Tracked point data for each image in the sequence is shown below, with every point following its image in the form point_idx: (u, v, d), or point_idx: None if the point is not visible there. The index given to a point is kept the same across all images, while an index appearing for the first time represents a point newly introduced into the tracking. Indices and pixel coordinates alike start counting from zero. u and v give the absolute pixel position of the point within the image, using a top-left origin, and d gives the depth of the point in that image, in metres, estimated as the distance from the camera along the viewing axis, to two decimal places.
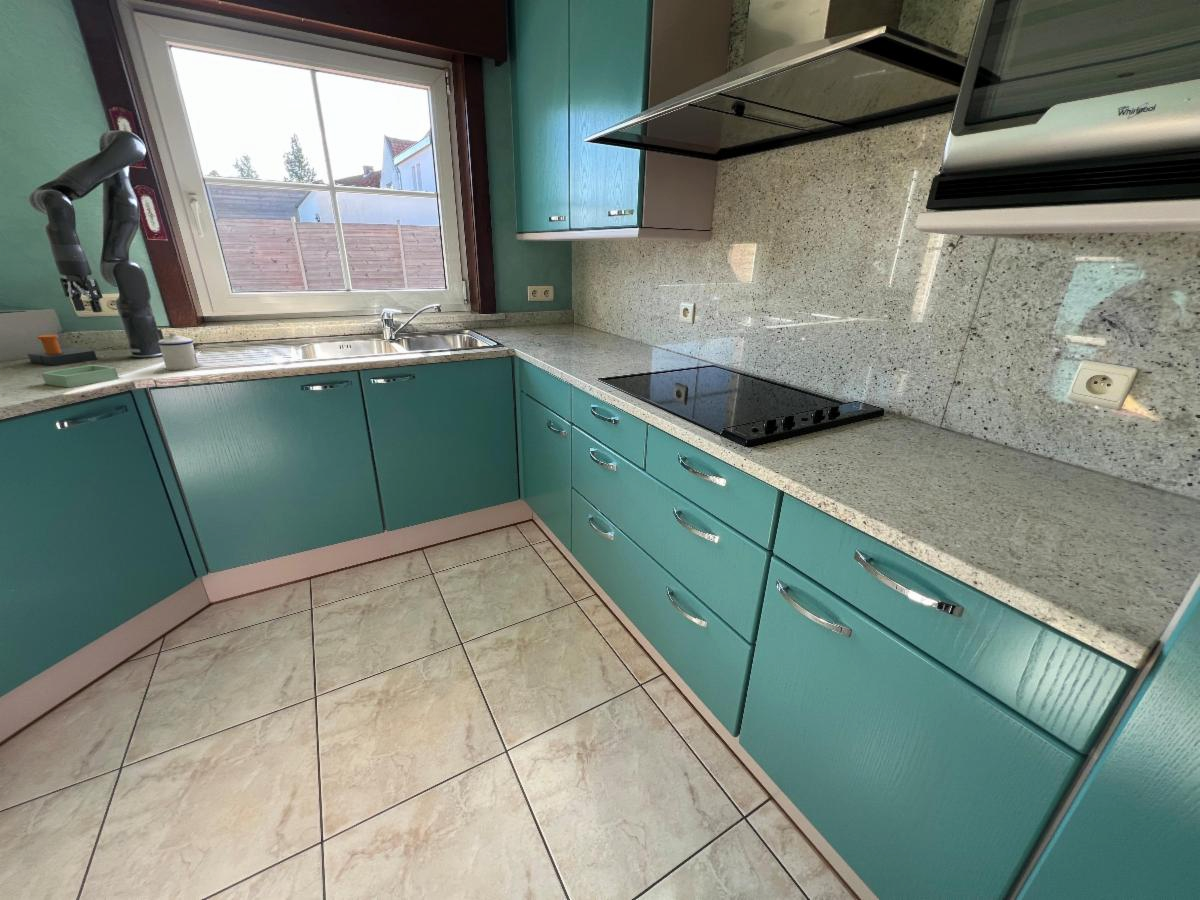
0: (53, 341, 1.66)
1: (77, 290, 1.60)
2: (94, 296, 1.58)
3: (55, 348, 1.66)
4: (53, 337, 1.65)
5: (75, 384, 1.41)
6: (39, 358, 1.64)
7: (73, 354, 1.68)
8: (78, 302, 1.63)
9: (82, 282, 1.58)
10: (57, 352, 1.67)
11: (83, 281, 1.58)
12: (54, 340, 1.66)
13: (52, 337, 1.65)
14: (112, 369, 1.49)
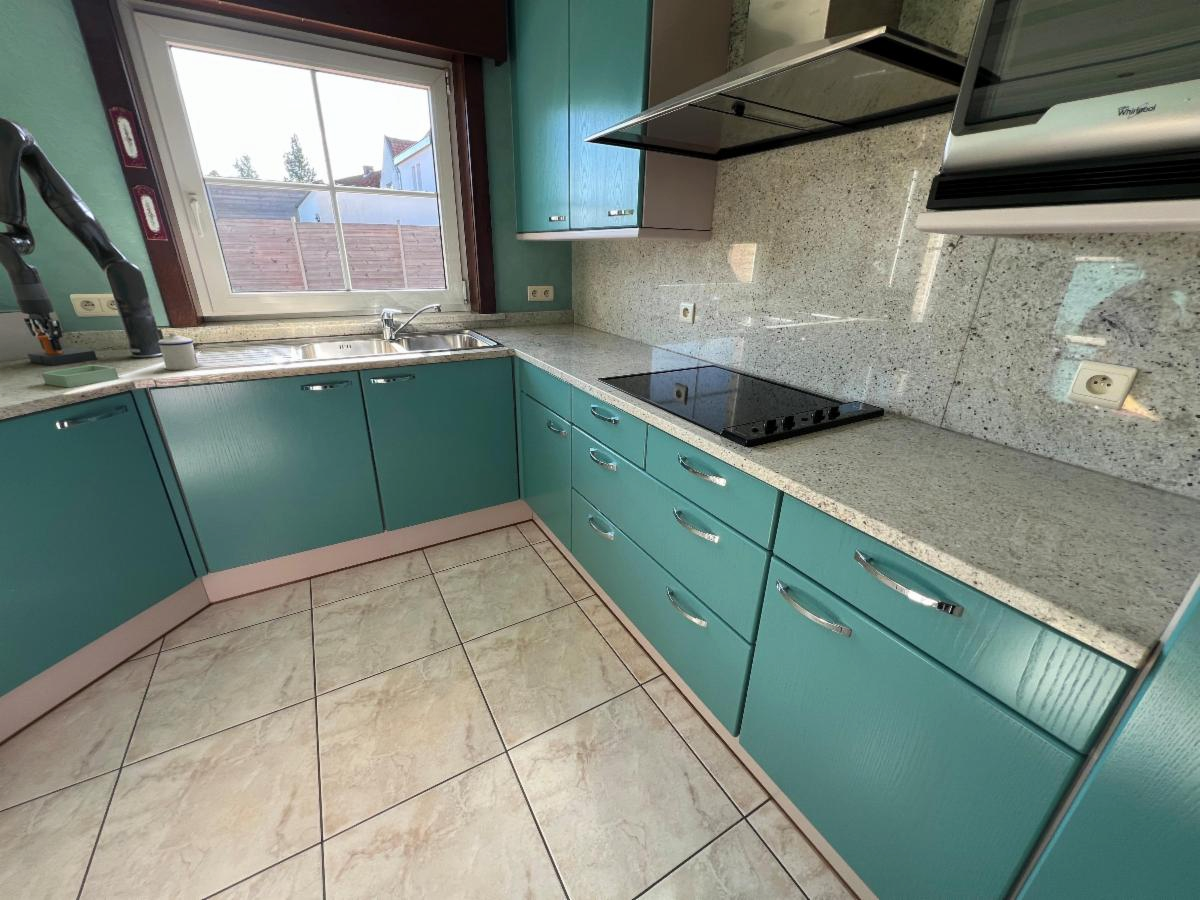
0: None
1: (39, 327, 1.63)
2: (53, 336, 1.63)
3: None
4: None
5: (75, 384, 1.41)
6: (39, 358, 1.64)
7: (73, 354, 1.68)
8: None
9: (43, 320, 1.61)
10: (57, 352, 1.67)
11: (45, 320, 1.61)
12: None
13: None
14: (112, 369, 1.49)
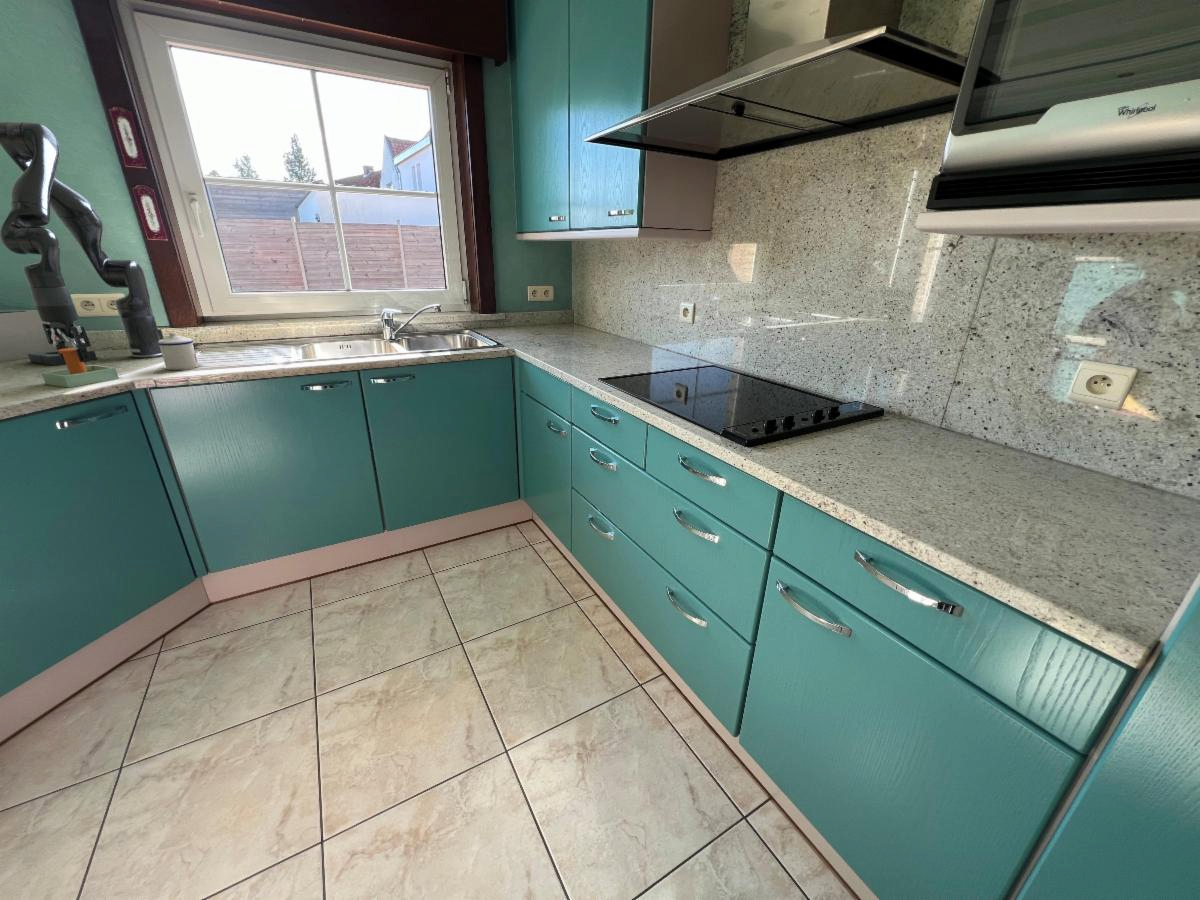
0: (76, 355, 1.43)
1: (62, 337, 1.41)
2: (81, 345, 1.40)
3: (79, 363, 1.44)
4: None
5: (75, 384, 1.41)
6: (39, 358, 1.64)
7: None
8: None
9: (67, 329, 1.39)
10: (81, 368, 1.44)
11: (68, 328, 1.39)
12: None
13: (75, 351, 1.42)
14: (112, 369, 1.49)
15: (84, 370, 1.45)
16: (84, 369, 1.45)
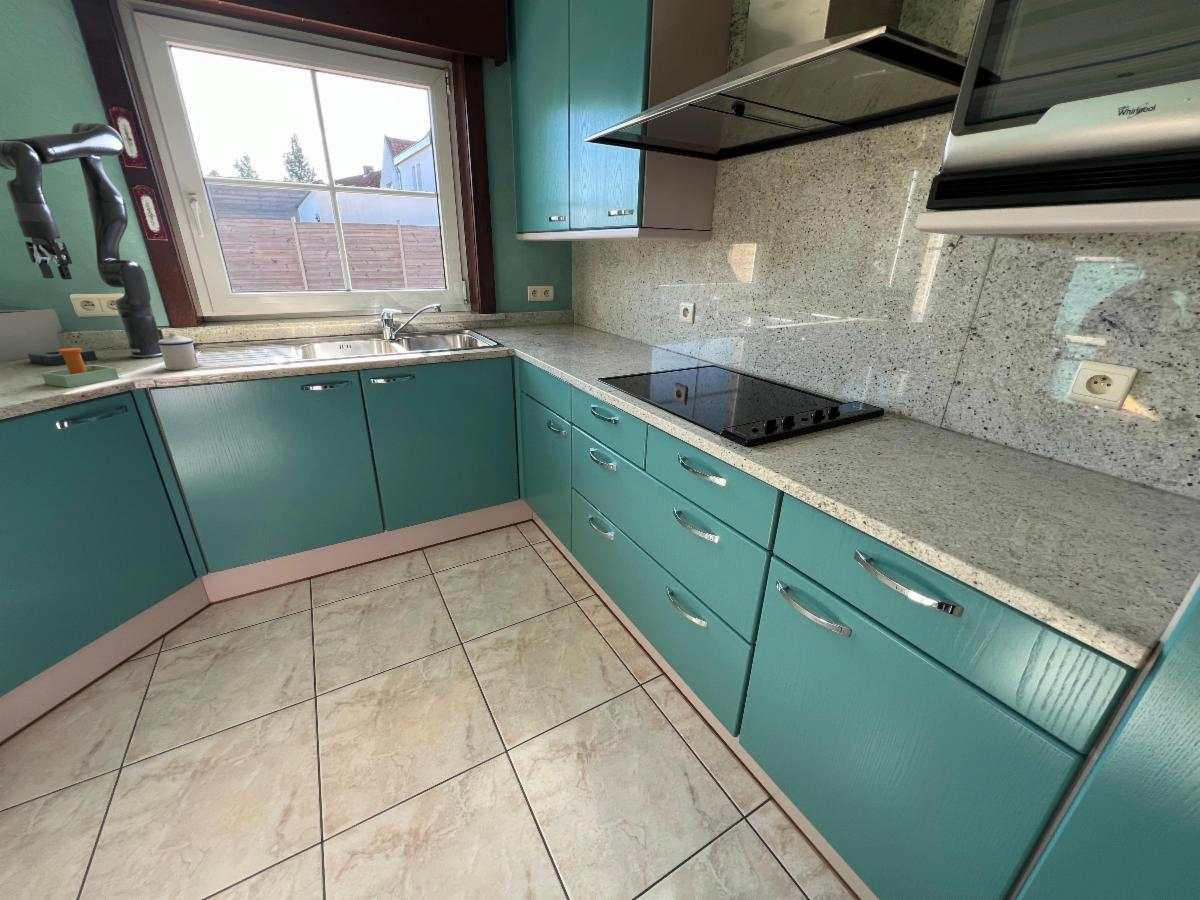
0: (76, 355, 1.43)
1: (44, 255, 1.46)
2: (62, 261, 1.44)
3: (79, 363, 1.44)
4: (76, 351, 1.42)
5: (75, 384, 1.41)
6: (39, 358, 1.64)
7: None
8: (46, 269, 1.49)
9: (49, 245, 1.44)
10: (81, 368, 1.44)
11: (50, 244, 1.44)
12: (77, 354, 1.43)
13: (75, 351, 1.42)
14: (112, 369, 1.49)
15: (84, 370, 1.45)
16: (84, 369, 1.45)
